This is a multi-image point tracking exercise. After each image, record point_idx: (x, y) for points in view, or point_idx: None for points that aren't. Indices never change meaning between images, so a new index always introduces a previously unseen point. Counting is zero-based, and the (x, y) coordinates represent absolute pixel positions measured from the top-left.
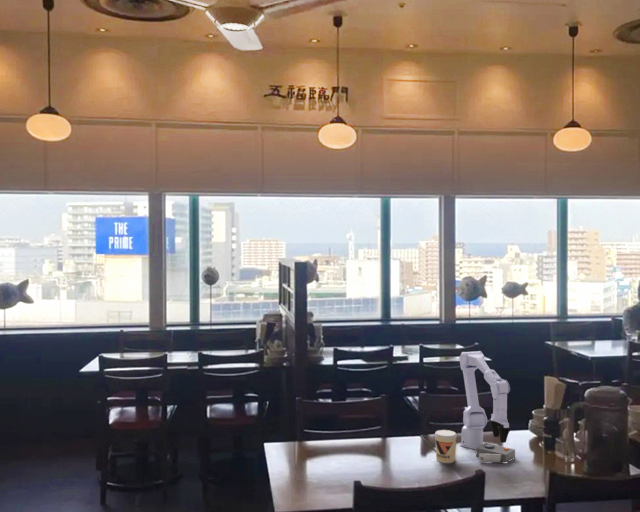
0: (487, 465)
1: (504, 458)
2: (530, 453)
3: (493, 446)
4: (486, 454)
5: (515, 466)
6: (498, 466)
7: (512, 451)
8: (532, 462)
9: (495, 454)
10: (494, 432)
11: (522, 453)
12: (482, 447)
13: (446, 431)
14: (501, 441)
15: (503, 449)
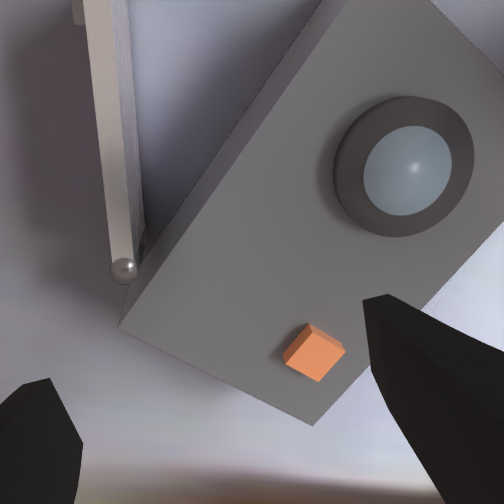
0: (35, 71)
1: (133, 289)
2: (415, 472)
3: (375, 222)
4: (92, 75)
5: (82, 347)
6: (36, 195)
7: (262, 397)
8: (213, 469)
9: (107, 206)
10: (403, 357)
11: None
12: (387, 62)
13: None
14: (7, 403)
15: (309, 321)
